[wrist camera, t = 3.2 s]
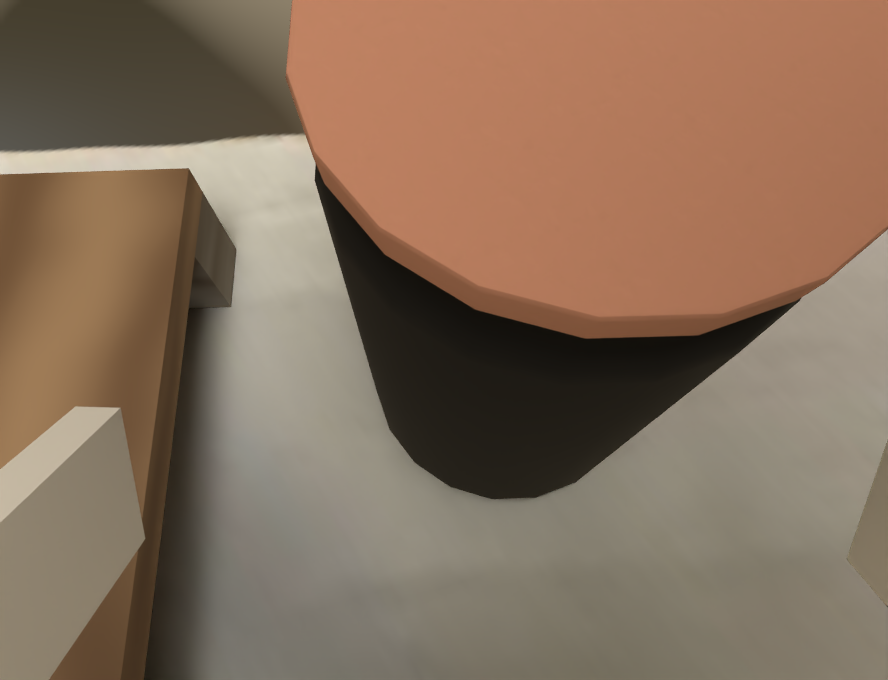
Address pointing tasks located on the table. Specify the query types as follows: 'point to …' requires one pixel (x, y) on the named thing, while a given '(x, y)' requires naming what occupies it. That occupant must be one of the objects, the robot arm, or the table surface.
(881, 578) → the robot arm
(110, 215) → the walnut shelf
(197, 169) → the table surface
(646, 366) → the coffee jar
